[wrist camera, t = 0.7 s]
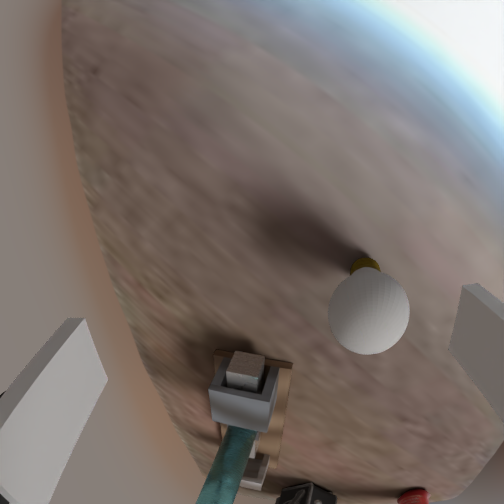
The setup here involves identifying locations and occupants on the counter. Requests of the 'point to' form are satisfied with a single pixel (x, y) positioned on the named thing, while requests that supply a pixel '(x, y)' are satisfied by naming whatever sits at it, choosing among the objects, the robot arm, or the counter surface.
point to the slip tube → (235, 435)
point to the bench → (278, 411)
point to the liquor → (414, 497)
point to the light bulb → (368, 309)
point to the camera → (306, 495)
